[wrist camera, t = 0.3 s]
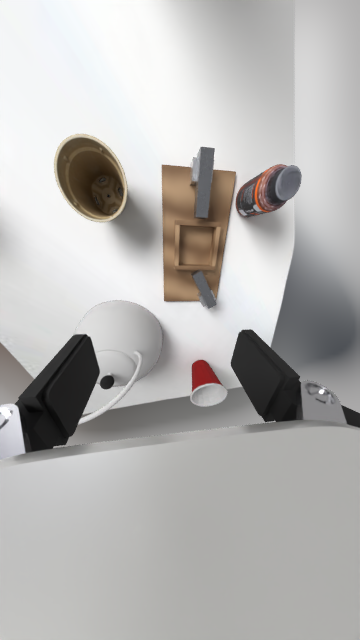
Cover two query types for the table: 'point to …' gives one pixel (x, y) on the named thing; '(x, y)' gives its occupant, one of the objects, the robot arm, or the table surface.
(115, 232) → the table surface
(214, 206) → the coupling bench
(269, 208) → the supplement bottle
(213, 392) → the plastic cup
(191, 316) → the table surface
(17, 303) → the table surface
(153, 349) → the kettle
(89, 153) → the flower pot
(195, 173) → the pair of grey blocks
